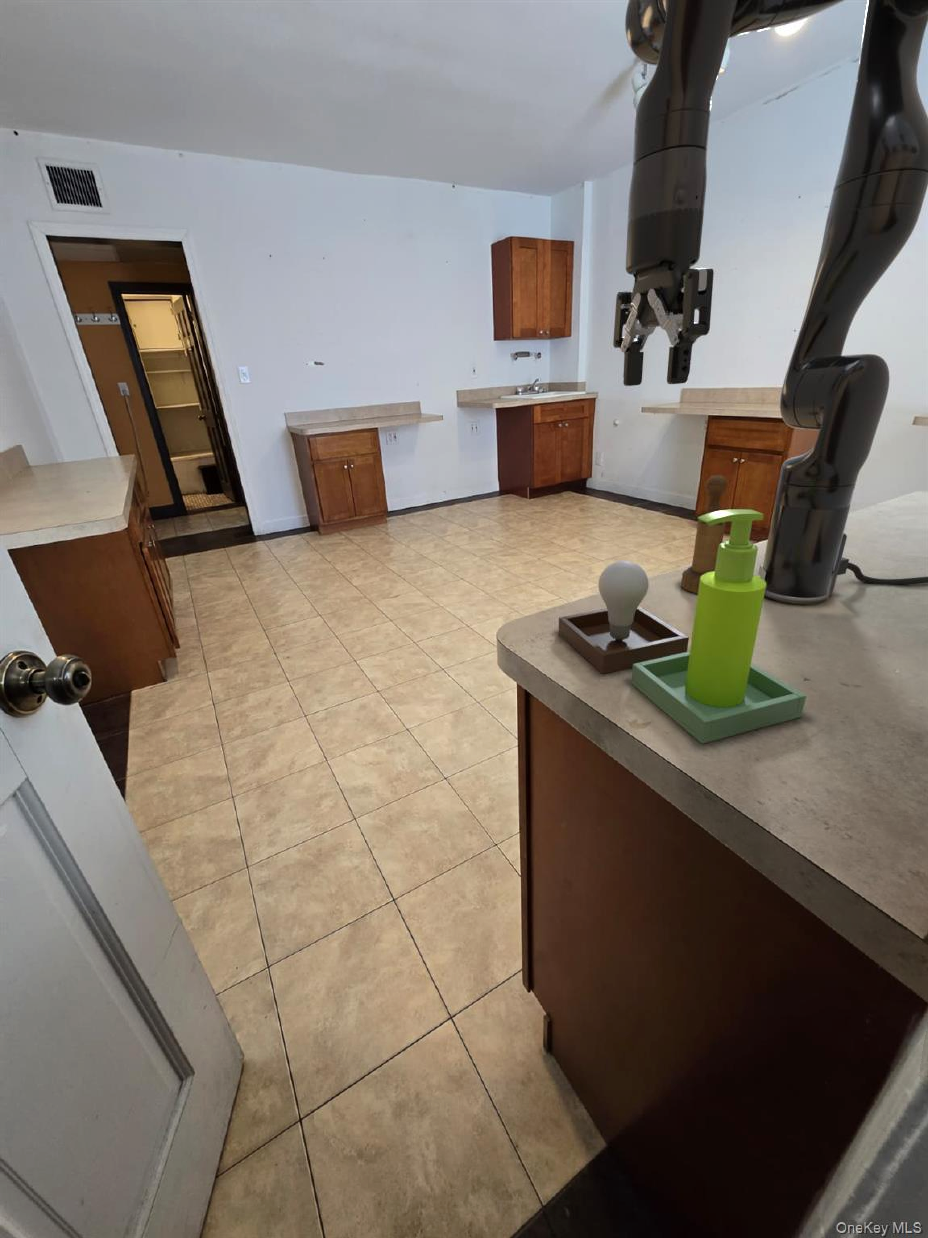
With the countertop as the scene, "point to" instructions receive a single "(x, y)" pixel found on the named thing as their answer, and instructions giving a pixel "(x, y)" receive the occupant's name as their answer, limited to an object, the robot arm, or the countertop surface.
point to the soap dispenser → (726, 616)
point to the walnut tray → (611, 655)
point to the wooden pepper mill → (706, 538)
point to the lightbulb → (622, 595)
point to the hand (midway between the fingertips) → (653, 384)
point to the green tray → (709, 723)
